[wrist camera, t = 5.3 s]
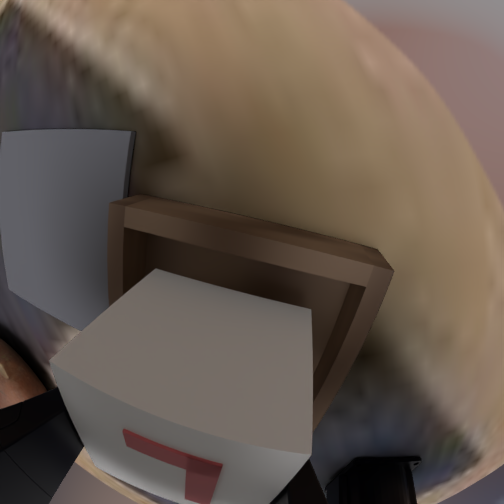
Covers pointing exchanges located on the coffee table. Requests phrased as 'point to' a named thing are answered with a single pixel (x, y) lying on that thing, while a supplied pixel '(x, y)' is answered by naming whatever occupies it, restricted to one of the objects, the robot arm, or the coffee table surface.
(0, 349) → the ceramic jug
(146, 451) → the letter cube
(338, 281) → the tray
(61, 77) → the coffee table surface
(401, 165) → the coffee table surface
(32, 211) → the pad
